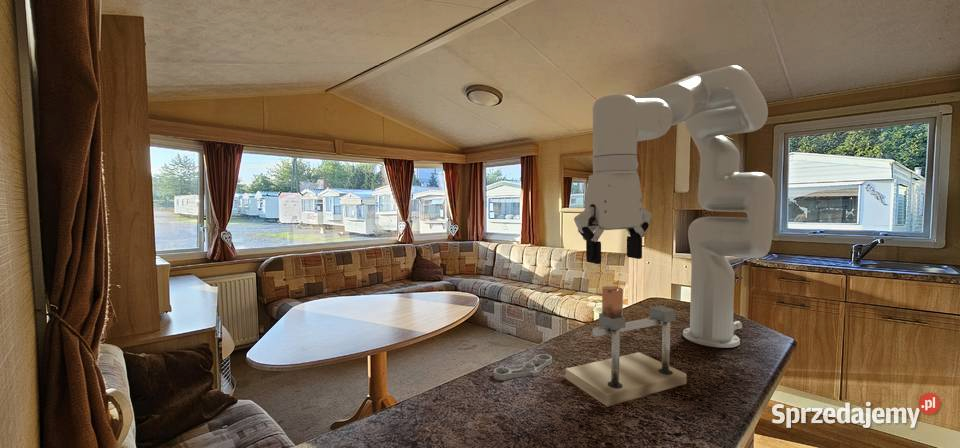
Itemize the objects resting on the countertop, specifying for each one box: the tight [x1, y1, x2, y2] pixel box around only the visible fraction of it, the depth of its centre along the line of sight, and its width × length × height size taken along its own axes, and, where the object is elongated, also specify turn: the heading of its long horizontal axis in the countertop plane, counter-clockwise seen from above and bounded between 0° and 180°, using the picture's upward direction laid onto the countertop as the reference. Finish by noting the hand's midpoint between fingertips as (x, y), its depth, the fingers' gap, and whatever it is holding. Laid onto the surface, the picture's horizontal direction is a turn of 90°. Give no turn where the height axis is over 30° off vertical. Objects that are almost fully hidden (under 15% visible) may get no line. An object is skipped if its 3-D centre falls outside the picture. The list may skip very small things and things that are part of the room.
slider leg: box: [598, 285, 627, 385], centre depth 72 cm, size 4×4×18 cm
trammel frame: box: [592, 305, 677, 373], centre depth 75 cm, size 18×4×12 cm, turn 114°
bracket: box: [493, 353, 553, 381], centre depth 83 cm, size 8×2×15 cm
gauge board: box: [564, 351, 687, 407], centre depth 78 cm, size 20×12×2 cm, turn 114°
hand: (614, 260), depth 72 cm, fingers open, 9 cm apart
